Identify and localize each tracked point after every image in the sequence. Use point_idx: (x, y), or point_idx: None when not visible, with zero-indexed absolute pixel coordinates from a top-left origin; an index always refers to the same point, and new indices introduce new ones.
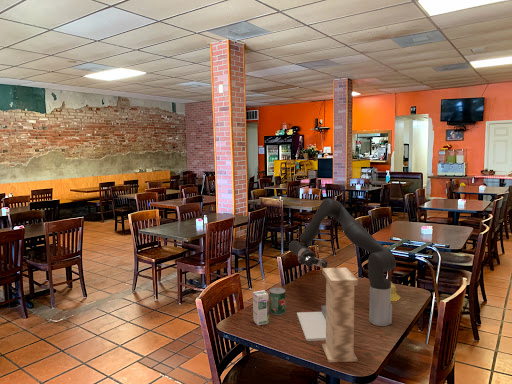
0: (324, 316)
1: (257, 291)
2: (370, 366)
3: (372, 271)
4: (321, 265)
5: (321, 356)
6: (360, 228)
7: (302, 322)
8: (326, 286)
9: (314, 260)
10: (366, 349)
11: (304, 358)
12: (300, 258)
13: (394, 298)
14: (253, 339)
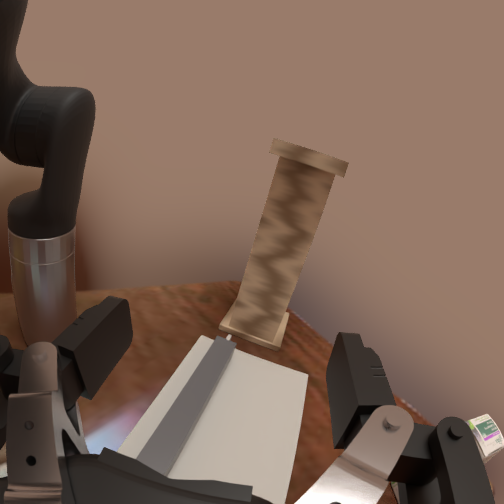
0: (185, 443)
1: (497, 443)
2: (227, 285)
3: (77, 166)
4: (76, 408)
5: (293, 331)
6: None
7: (288, 449)
8: (325, 203)
9: (148, 468)
10: (194, 305)
11: (326, 340)
12: (478, 453)
13: None
14: (419, 419)
